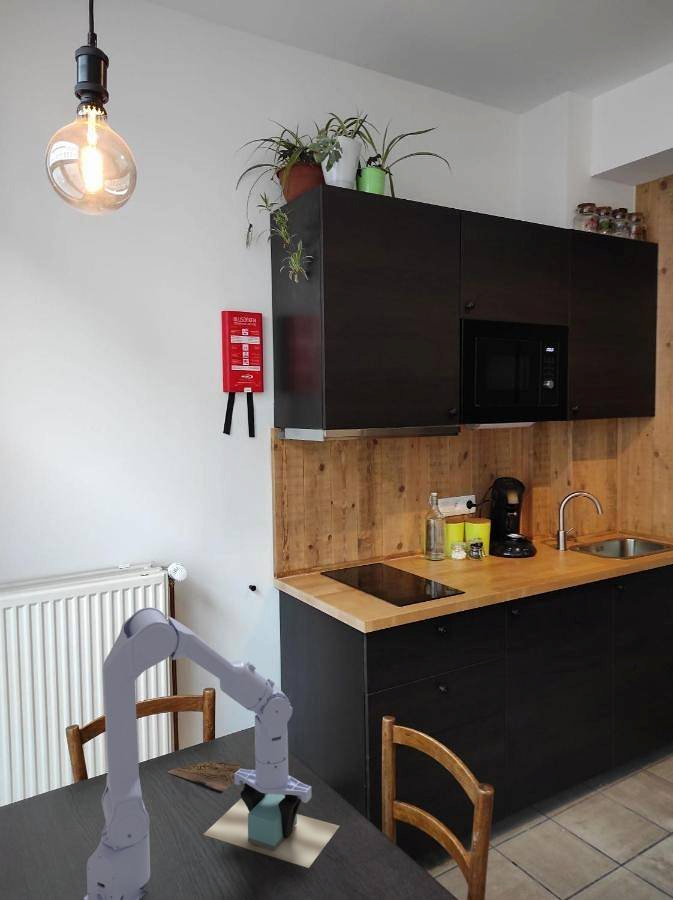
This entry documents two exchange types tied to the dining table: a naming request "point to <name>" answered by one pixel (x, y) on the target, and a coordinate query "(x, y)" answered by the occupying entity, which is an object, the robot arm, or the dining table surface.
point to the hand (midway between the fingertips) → (273, 830)
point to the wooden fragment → (210, 774)
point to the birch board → (295, 849)
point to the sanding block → (266, 822)
